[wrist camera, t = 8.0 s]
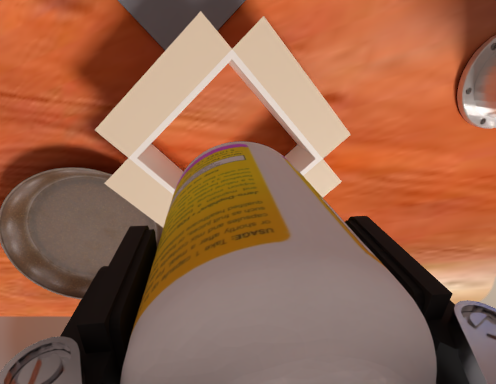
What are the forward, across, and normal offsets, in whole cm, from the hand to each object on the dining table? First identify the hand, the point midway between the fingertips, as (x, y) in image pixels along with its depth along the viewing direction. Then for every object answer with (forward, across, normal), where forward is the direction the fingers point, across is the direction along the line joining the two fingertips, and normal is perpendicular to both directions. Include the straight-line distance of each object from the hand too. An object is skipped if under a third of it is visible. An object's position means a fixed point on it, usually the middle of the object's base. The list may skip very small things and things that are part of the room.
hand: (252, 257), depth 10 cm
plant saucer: (+28, +18, +15) cm, 36 cm away
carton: (+27, 0, +2) cm, 28 cm away
